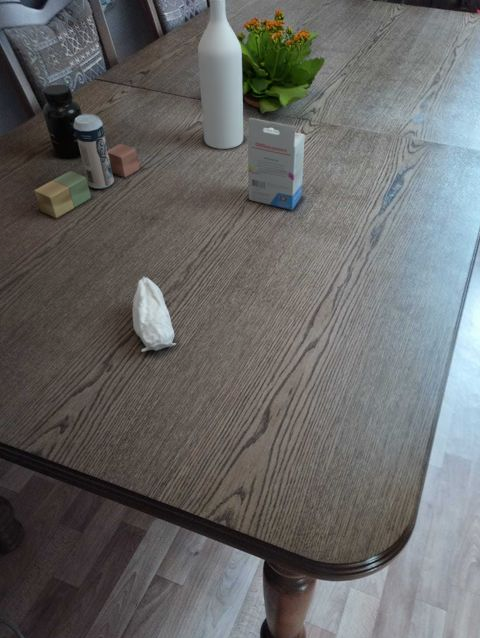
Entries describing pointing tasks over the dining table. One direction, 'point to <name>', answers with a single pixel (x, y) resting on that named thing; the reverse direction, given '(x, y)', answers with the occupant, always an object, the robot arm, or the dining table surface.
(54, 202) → the block row
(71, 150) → the supplement bottle
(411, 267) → the dining table surface
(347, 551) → the dining table surface
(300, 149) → the ink box
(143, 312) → the white crumpled pouch
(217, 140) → the bottle
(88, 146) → the white cylindrical canister
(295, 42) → the potted flower
